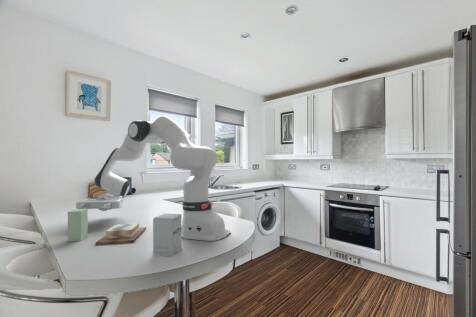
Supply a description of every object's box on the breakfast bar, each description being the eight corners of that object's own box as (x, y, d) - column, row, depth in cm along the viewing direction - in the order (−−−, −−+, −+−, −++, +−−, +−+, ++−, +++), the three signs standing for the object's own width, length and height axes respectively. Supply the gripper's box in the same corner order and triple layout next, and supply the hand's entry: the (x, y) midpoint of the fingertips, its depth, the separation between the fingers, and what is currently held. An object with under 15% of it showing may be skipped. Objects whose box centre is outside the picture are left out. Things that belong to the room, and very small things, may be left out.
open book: (146, 229, 106) (146, 220, 106) (133, 242, 88) (133, 232, 88) (114, 231, 104) (114, 222, 104) (95, 244, 86) (95, 234, 86)
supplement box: (172, 256, 74) (172, 218, 74) (152, 255, 75) (152, 217, 76) (182, 248, 81) (182, 213, 81) (163, 247, 83) (163, 213, 83)
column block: (87, 236, 96) (87, 208, 96) (81, 240, 91) (81, 211, 91) (75, 237, 95) (75, 209, 96) (67, 241, 90) (67, 211, 91)
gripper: (84, 196, 118) (68, 201, 104) (125, 195, 121) (114, 200, 107) (84, 208, 118) (68, 214, 104) (125, 207, 121) (114, 213, 107)
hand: (92, 207), depth 106 cm, fingers open, 8 cm apart
